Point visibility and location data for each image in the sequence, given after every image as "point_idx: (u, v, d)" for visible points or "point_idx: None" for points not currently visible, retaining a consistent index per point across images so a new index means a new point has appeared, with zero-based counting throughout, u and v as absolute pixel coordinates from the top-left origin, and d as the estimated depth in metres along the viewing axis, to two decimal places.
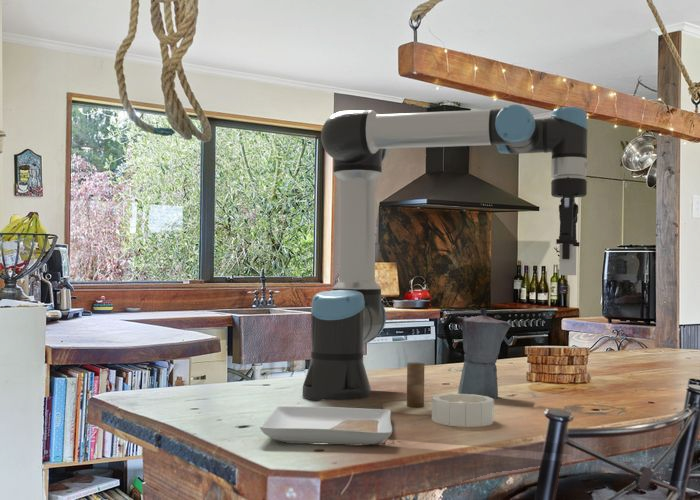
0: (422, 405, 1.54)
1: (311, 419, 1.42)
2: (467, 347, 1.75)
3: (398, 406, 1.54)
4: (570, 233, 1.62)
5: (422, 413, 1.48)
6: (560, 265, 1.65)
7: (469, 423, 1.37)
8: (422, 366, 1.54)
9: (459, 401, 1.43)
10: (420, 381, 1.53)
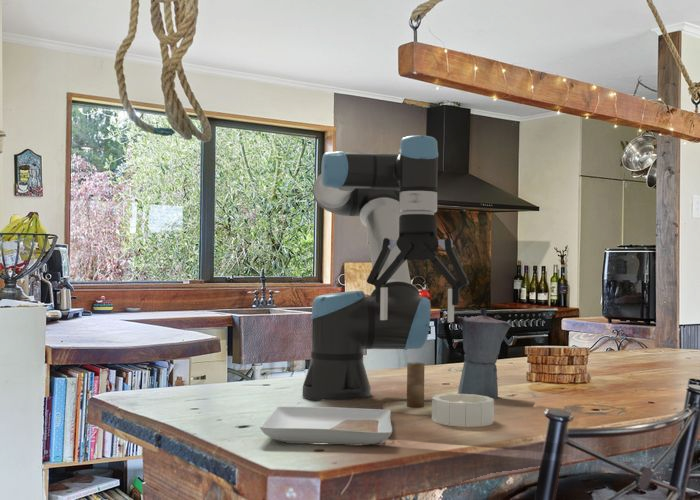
0: (422, 405, 1.54)
1: (311, 419, 1.42)
2: (467, 347, 1.75)
3: (398, 406, 1.54)
4: None
5: (422, 413, 1.48)
6: None
7: (469, 423, 1.37)
8: (422, 366, 1.54)
9: (459, 401, 1.43)
10: (420, 381, 1.53)
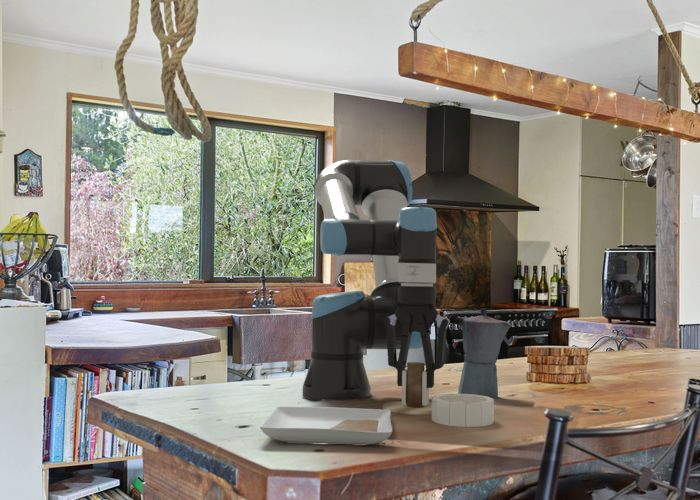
0: (422, 405, 1.54)
1: (311, 419, 1.42)
2: (467, 347, 1.75)
3: (398, 406, 1.54)
4: None
5: (422, 413, 1.48)
6: None
7: (469, 423, 1.37)
8: (422, 366, 1.54)
9: (459, 401, 1.43)
10: (420, 381, 1.53)
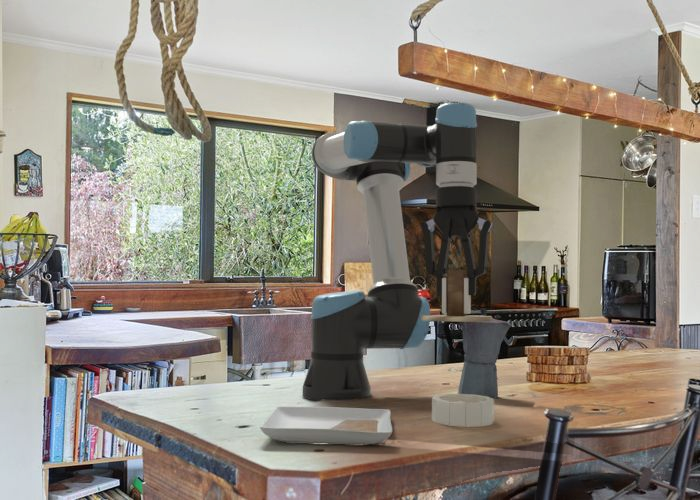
0: (464, 314, 1.43)
1: (311, 419, 1.42)
2: (467, 347, 1.75)
3: None
4: None
5: (465, 318, 1.38)
6: None
7: (469, 423, 1.37)
8: (463, 272, 1.44)
9: (459, 401, 1.43)
10: (461, 287, 1.43)
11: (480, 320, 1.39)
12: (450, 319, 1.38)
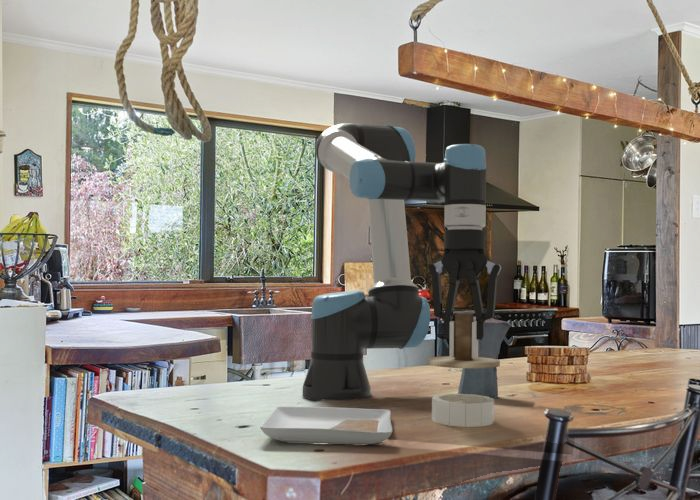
0: (471, 358, 1.42)
1: (311, 419, 1.42)
2: None
3: (445, 359, 1.42)
4: None
5: (473, 365, 1.36)
6: None
7: (469, 423, 1.37)
8: (471, 316, 1.42)
9: (459, 401, 1.43)
10: (469, 332, 1.41)
11: (489, 366, 1.37)
12: (458, 366, 1.37)
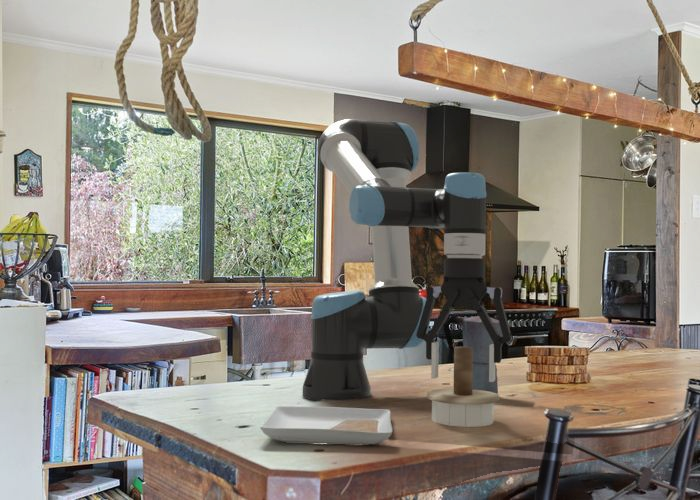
0: (470, 393, 1.42)
1: (311, 419, 1.42)
2: None
3: (444, 394, 1.42)
4: None
5: (472, 401, 1.36)
6: None
7: (469, 423, 1.37)
8: (470, 350, 1.42)
9: None
10: (468, 366, 1.41)
11: (488, 402, 1.38)
12: (458, 402, 1.37)
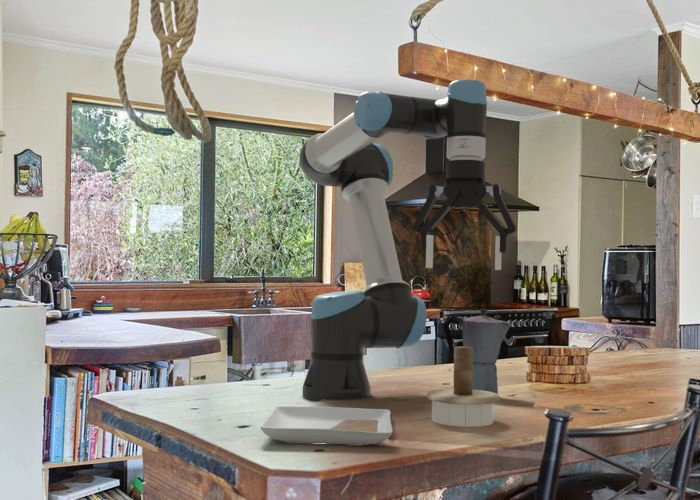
0: (470, 393, 1.42)
1: (311, 419, 1.42)
2: None
3: (444, 394, 1.42)
4: None
5: (472, 401, 1.36)
6: None
7: (469, 423, 1.37)
8: (470, 350, 1.42)
9: None
10: (468, 366, 1.41)
11: (488, 402, 1.38)
12: (458, 402, 1.37)
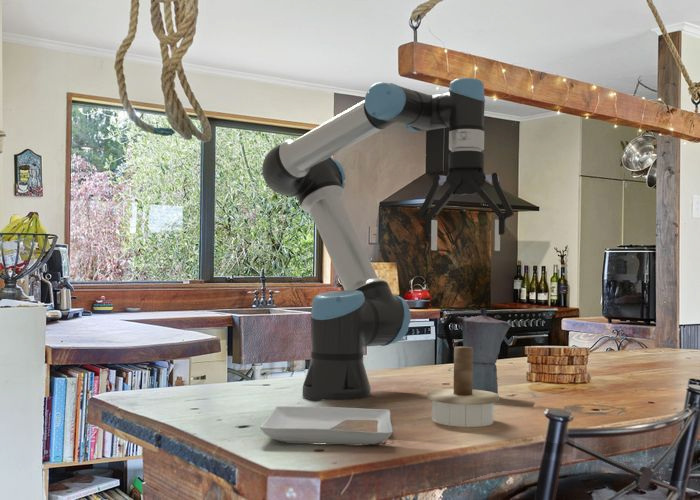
0: (470, 393, 1.42)
1: (311, 419, 1.42)
2: None
3: (444, 394, 1.42)
4: None
5: (472, 401, 1.36)
6: None
7: (469, 423, 1.37)
8: (470, 350, 1.42)
9: None
10: (468, 366, 1.41)
11: (488, 402, 1.38)
12: (458, 402, 1.37)
